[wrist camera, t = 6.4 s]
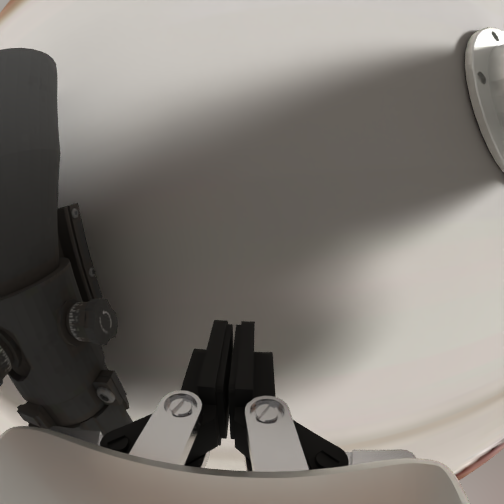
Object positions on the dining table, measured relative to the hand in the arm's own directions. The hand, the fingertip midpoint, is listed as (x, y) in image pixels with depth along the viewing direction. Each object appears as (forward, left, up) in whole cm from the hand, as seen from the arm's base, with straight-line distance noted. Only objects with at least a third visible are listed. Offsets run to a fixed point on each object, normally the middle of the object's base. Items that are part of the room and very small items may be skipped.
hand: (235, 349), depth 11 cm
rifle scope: (+11, 0, -5) cm, 12 cm away
